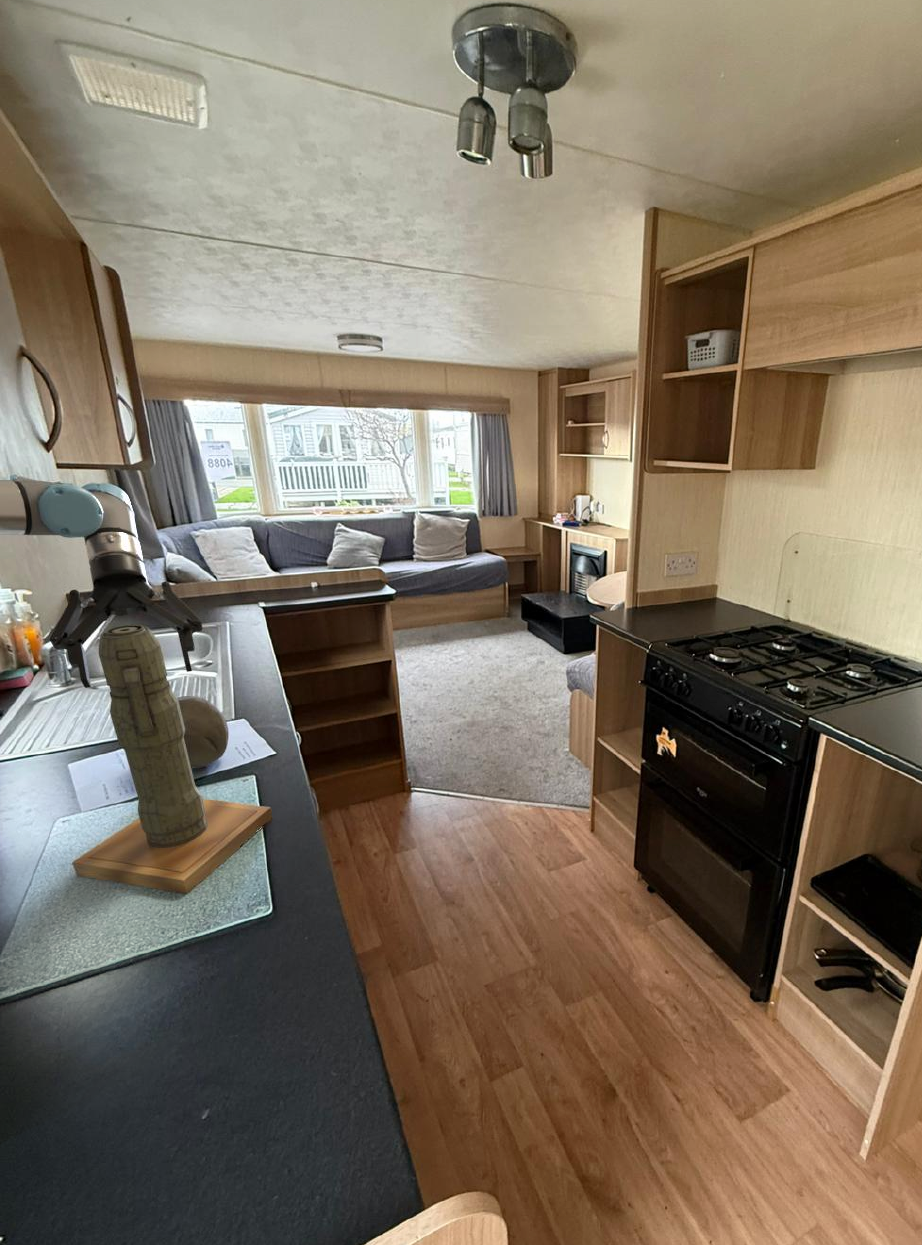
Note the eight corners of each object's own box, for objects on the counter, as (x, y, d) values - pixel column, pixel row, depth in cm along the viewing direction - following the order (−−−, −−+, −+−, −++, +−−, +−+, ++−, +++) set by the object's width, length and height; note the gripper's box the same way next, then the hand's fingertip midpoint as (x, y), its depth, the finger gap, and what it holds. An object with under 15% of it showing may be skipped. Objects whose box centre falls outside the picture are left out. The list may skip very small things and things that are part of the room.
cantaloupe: (234, 744, 137) (221, 682, 131) (234, 773, 125) (219, 705, 119) (160, 757, 131) (143, 693, 125) (152, 789, 119) (133, 719, 113)
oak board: (76, 875, 95) (71, 861, 94) (176, 806, 113) (173, 794, 112) (187, 893, 91) (183, 879, 90) (272, 819, 110) (270, 806, 109)
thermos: (150, 860, 95) (88, 645, 82) (142, 824, 103) (85, 625, 91) (214, 839, 100) (165, 633, 87) (202, 807, 108) (155, 616, 96)
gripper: (14, 559, 94) (30, 680, 88) (199, 546, 107) (225, 651, 100) (29, 586, 100) (46, 701, 94) (203, 571, 113) (228, 671, 106)
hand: (139, 675), depth 97 cm, fingers open, 13 cm apart
